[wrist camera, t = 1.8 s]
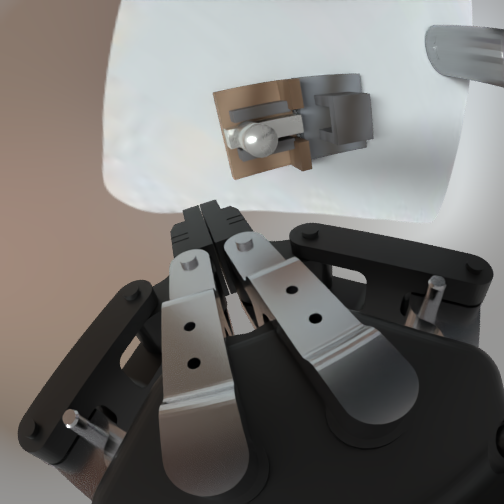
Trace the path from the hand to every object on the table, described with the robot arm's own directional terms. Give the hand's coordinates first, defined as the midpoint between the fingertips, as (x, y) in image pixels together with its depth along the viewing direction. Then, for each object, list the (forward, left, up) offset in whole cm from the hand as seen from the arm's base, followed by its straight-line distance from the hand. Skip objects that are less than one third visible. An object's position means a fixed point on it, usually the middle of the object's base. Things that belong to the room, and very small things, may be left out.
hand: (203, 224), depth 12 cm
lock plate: (-14, 0, -19) cm, 24 cm away
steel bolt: (-9, 0, -18) cm, 20 cm away
